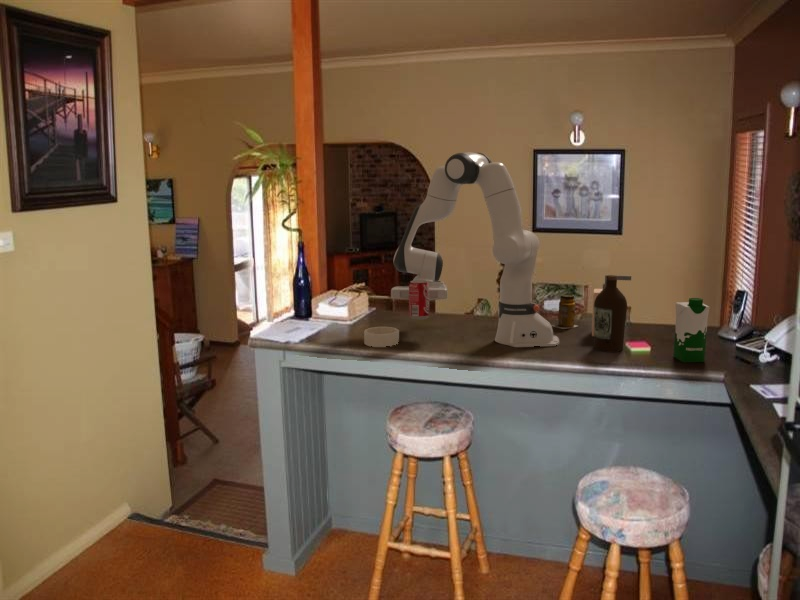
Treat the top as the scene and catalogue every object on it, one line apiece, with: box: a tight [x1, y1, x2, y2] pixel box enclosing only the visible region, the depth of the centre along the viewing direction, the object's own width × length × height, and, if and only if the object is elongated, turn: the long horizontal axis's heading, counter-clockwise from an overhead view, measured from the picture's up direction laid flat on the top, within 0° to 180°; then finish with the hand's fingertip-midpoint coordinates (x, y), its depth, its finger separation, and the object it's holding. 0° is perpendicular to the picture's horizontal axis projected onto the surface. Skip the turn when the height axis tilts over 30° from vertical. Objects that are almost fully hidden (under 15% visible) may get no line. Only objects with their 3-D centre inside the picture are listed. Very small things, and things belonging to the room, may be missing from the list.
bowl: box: [363, 326, 400, 348], centre depth 251 cm, size 12×12×4 cm
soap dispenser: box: [591, 274, 632, 337], centre depth 257 cm, size 13×9×22 cm
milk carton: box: [673, 297, 711, 363], centre depth 224 cm, size 9×9×20 cm
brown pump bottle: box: [593, 274, 628, 353], centre depth 238 cm, size 11×11×25 cm
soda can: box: [408, 280, 430, 320], centre depth 248 cm, size 7×7×13 cm
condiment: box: [551, 294, 578, 330], centre depth 273 cm, size 7×8×12 cm
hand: (417, 296), depth 247 cm, fingers closed on soda can
